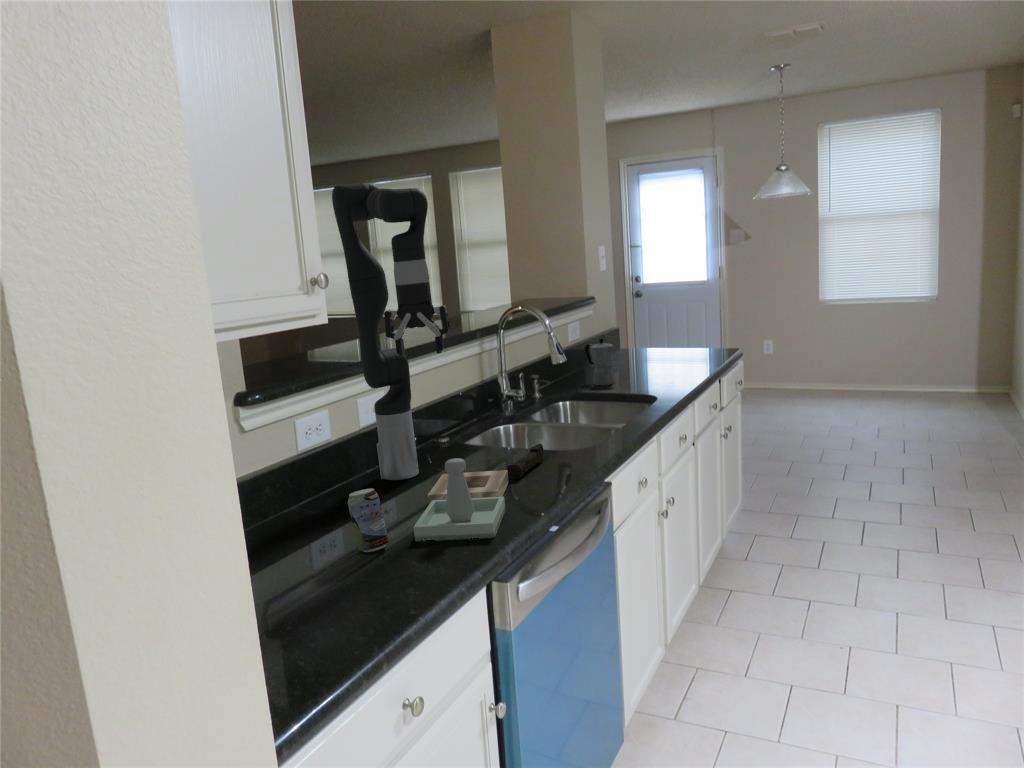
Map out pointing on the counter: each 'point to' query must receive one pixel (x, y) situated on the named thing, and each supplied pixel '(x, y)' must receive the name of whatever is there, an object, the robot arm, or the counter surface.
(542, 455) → the hand tool
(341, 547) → the counter surface
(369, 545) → the beverage can
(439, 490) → the holder
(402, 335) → the robot arm
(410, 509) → the counter surface
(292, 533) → the counter surface
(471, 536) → the parts tray
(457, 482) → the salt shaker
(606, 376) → the coffeepot
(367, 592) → the counter surface
